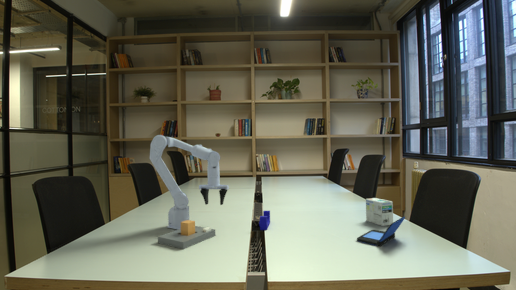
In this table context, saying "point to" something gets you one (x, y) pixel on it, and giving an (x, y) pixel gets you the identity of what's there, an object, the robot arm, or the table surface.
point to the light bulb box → (379, 211)
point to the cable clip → (264, 220)
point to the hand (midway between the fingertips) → (214, 204)
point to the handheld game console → (380, 234)
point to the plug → (187, 227)
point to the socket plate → (186, 237)
